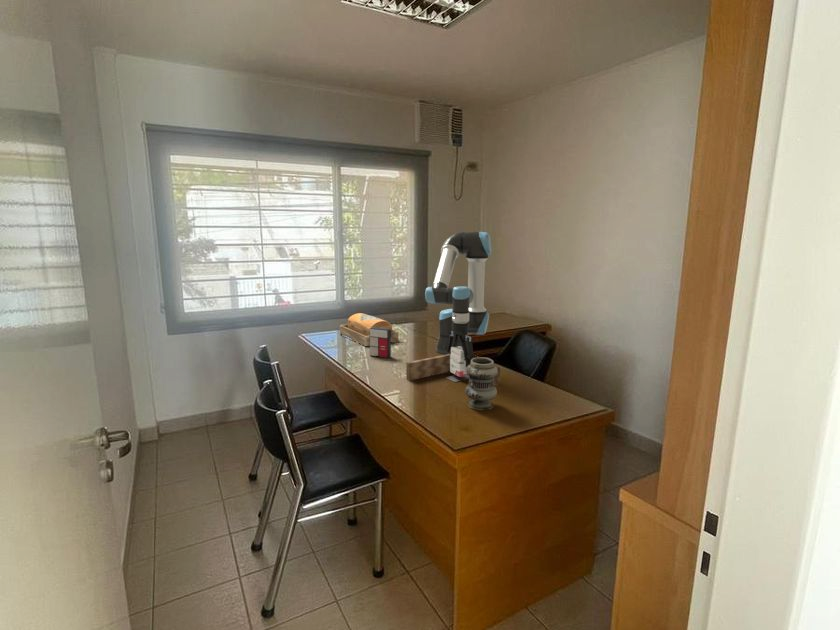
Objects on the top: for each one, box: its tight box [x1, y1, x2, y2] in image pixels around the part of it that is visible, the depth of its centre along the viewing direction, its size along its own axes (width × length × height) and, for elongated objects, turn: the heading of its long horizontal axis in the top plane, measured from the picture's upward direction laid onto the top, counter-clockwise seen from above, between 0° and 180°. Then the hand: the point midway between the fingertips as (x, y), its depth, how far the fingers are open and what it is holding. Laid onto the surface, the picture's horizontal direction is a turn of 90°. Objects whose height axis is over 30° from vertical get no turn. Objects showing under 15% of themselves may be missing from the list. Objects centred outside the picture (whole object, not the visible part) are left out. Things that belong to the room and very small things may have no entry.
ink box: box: [449, 346, 468, 377], centre depth 195 cm, size 9×5×12 cm, turn 27°
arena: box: [405, 354, 501, 387], centre depth 191 cm, size 30×28×8 cm
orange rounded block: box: [347, 312, 393, 336], centre depth 265 cm, size 30×16×14 cm, turn 35°
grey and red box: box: [369, 327, 392, 359], centre depth 228 cm, size 11×4×15 cm, turn 68°
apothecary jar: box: [464, 356, 498, 411], centre depth 165 cm, size 12×12×18 cm
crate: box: [339, 323, 399, 347], centre depth 267 cm, size 22×35×6 cm, turn 35°
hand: (459, 370), depth 196 cm, fingers closed on ink box, 9 cm apart
